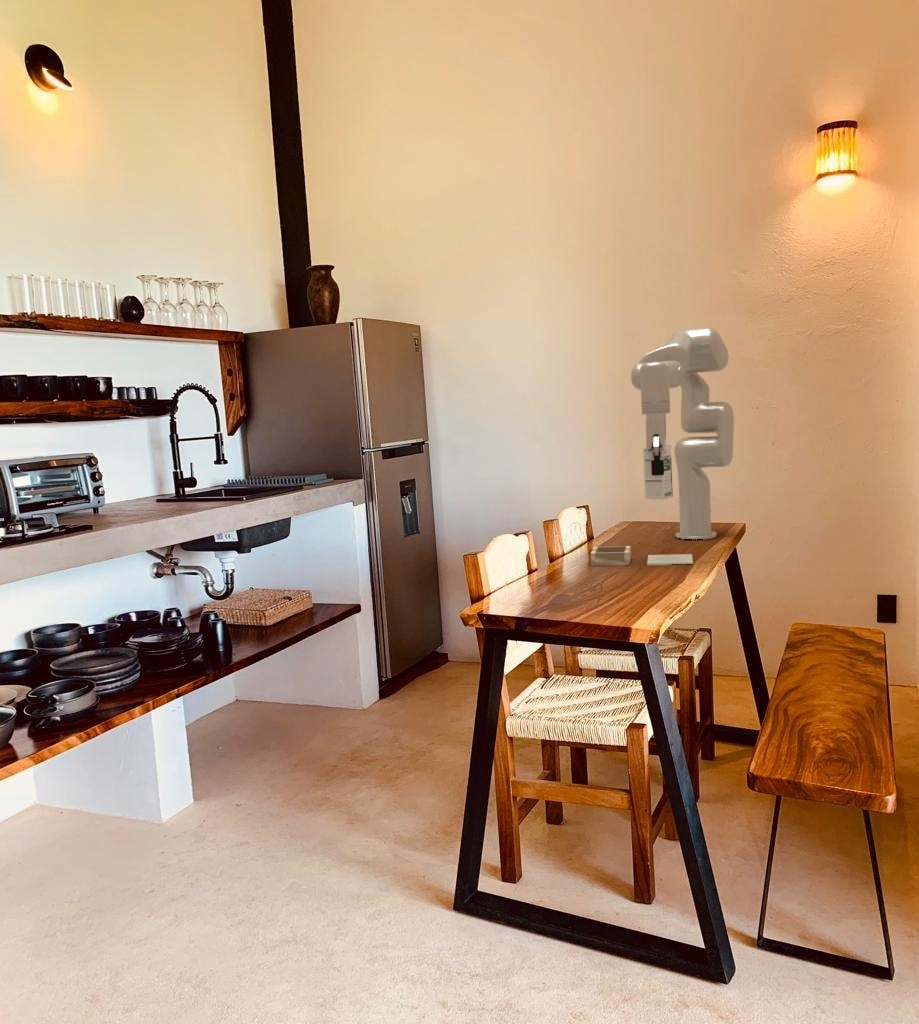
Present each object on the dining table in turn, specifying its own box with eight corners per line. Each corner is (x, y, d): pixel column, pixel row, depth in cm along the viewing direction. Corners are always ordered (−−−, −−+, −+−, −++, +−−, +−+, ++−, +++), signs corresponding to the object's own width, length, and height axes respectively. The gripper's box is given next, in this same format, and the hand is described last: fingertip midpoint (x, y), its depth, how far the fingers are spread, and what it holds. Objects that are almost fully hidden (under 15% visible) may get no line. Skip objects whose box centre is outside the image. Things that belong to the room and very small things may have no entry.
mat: (648, 557, 243) (648, 555, 243) (691, 556, 240) (691, 554, 240) (647, 565, 231) (647, 563, 231) (693, 564, 228) (693, 562, 228)
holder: (594, 558, 246) (593, 546, 245) (631, 558, 243) (630, 545, 243) (591, 565, 236) (590, 553, 235) (629, 565, 233) (628, 552, 233)
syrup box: (664, 499, 230) (663, 445, 228) (644, 499, 234) (642, 446, 232) (673, 497, 235) (671, 444, 233) (653, 496, 238) (651, 444, 236)
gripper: (643, 408, 240) (645, 471, 243) (639, 410, 224) (642, 477, 226) (670, 406, 238) (673, 469, 241) (669, 408, 222) (671, 476, 224)
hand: (658, 473), depth 233 cm, fingers closed on syrup box, 7 cm apart
